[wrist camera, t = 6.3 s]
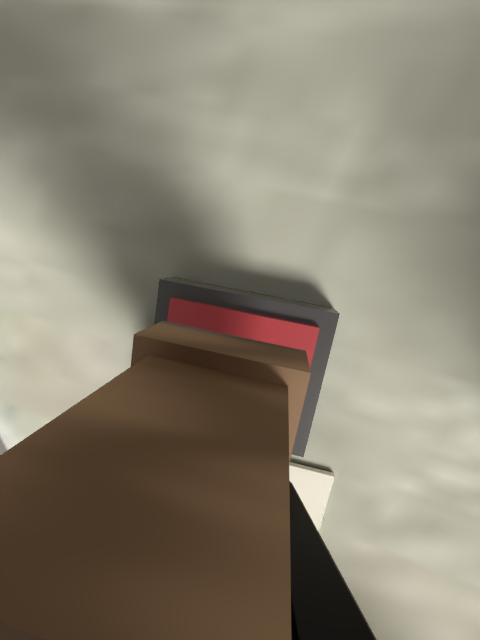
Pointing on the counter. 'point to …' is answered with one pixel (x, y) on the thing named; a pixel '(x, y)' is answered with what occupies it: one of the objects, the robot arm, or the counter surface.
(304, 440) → the ink pad
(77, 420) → the stamp
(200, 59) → the counter surface
